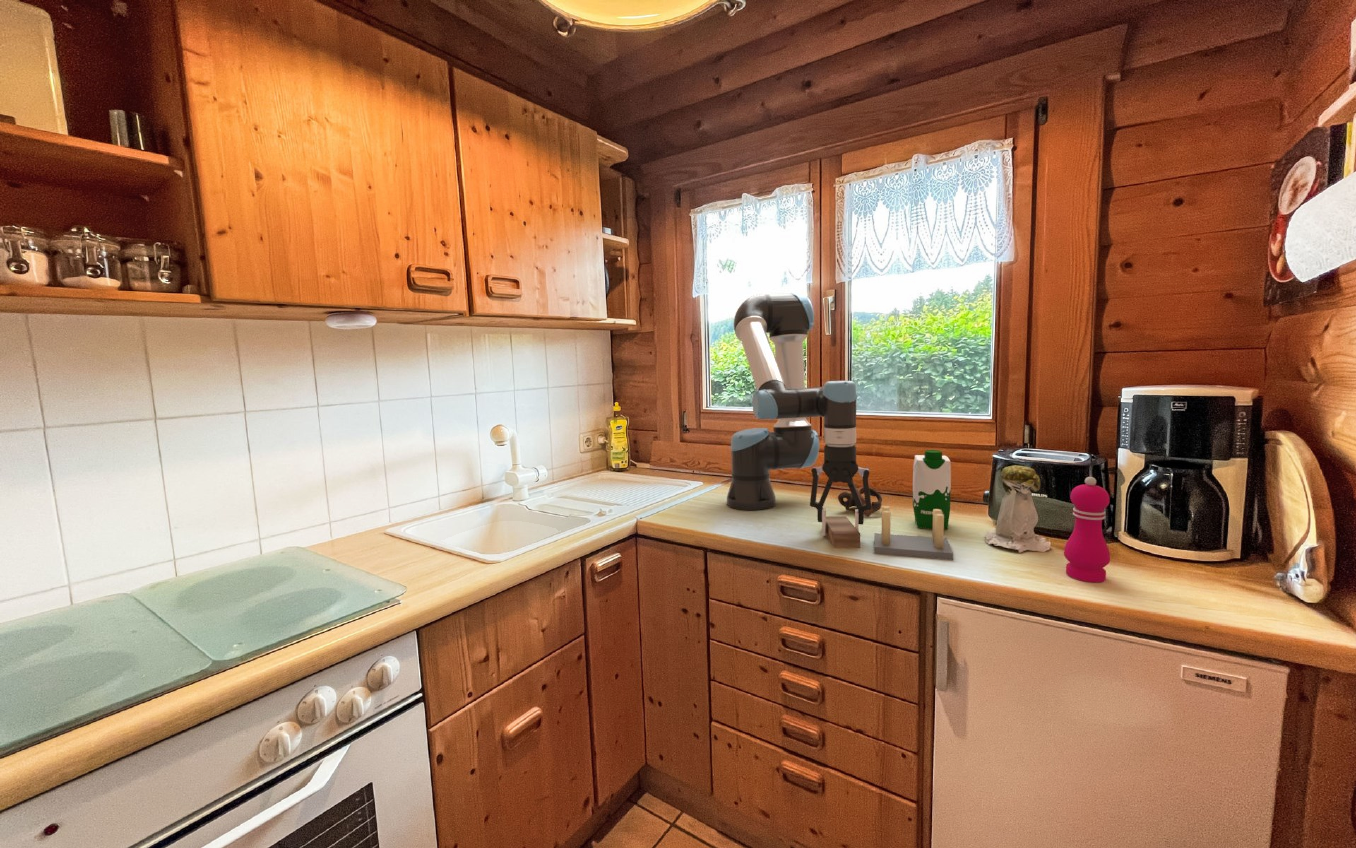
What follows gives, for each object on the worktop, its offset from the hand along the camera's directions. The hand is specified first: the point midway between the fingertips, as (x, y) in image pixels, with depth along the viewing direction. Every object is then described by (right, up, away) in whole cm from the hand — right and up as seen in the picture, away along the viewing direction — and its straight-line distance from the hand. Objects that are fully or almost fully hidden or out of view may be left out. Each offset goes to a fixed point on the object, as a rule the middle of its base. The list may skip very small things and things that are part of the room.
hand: (840, 535), depth 132 cm
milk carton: (+26, +1, +8) cm, 27 cm away
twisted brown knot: (+12, +2, +21) cm, 25 cm away
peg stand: (+14, -1, -9) cm, 16 cm away
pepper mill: (+40, -3, -27) cm, 48 cm away
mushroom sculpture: (+38, -1, -8) cm, 39 cm away
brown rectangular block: (0, -1, 0) cm, 1 cm away
